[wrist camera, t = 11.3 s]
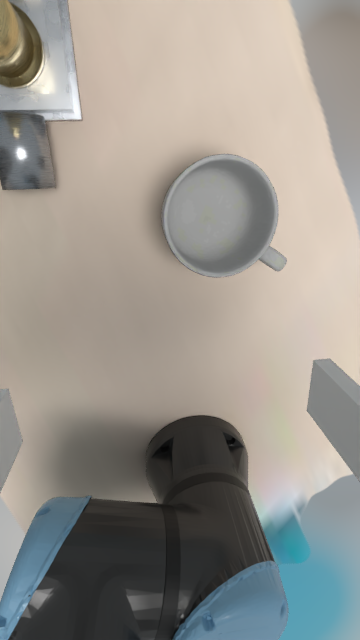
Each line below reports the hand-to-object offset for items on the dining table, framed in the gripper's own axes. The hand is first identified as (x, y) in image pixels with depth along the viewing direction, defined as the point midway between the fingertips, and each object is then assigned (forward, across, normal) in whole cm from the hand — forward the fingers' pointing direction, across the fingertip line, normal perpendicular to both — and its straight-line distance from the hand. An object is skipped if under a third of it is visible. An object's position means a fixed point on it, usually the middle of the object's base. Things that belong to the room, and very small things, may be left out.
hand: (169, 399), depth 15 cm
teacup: (+27, -8, -4) cm, 28 cm away
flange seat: (+27, +11, -17) cm, 33 cm away
